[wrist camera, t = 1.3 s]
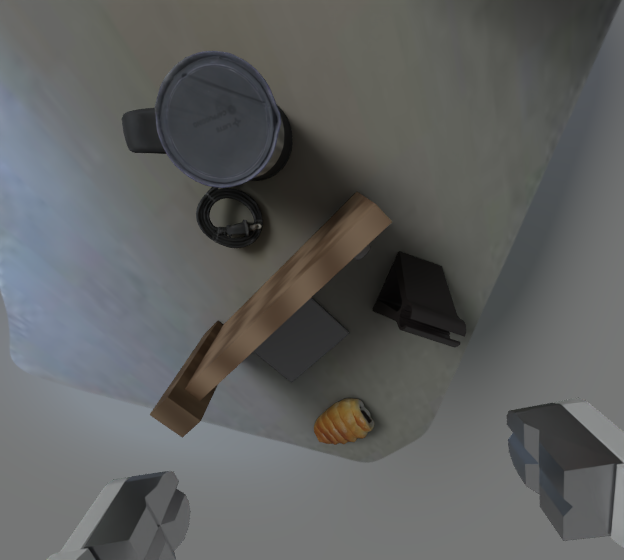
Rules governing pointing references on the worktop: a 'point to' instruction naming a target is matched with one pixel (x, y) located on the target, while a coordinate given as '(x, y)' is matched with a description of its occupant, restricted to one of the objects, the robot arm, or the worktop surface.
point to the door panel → (268, 310)
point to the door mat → (301, 340)
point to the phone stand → (420, 300)
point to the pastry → (343, 422)
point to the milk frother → (215, 133)
